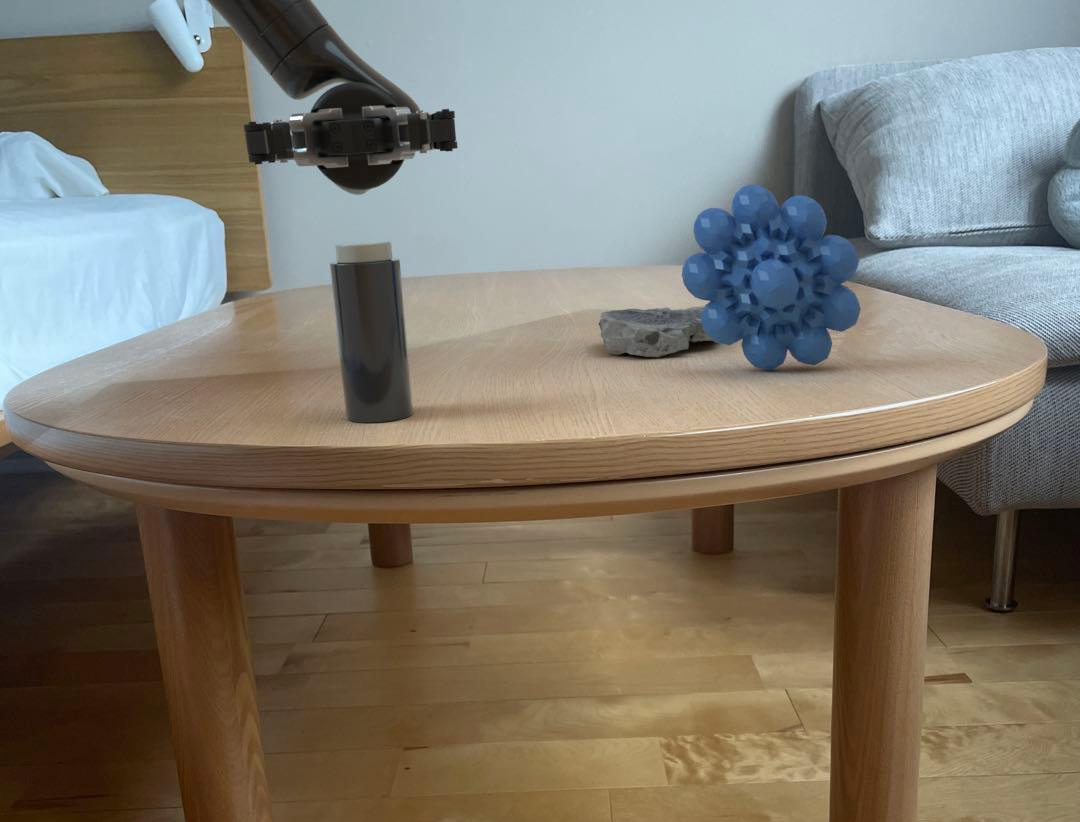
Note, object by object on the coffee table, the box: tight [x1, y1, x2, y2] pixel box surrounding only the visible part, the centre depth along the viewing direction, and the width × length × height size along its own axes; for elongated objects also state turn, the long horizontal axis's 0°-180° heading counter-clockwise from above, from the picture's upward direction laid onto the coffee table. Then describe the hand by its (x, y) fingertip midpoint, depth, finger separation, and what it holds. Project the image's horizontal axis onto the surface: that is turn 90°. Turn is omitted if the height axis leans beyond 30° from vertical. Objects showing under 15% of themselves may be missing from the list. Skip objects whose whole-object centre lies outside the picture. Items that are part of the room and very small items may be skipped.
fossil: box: [598, 306, 714, 358], centre depth 82 cm, size 11×4×10 cm
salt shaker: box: [329, 240, 414, 424], centre depth 61 cm, size 4×4×10 cm
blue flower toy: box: [681, 184, 862, 371], centre depth 68 cm, size 12×7×12 cm, turn 82°
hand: (347, 136), depth 67 cm, fingers open, 8 cm apart
